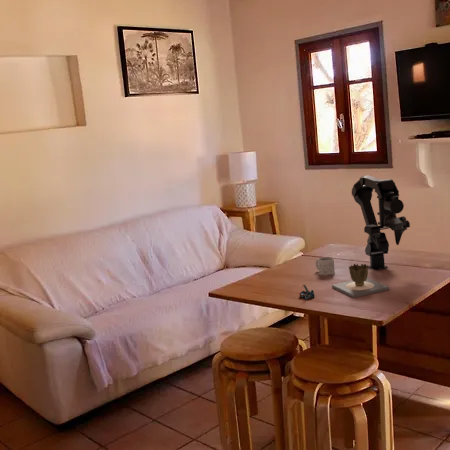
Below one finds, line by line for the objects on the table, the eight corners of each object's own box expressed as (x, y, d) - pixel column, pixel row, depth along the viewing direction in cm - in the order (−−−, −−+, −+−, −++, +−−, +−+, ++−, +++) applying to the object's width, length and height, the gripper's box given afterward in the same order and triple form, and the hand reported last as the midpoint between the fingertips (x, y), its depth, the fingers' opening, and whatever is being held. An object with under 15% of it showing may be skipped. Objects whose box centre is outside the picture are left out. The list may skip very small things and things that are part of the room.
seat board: (332, 287, 237) (331, 284, 237) (366, 280, 242) (366, 277, 242) (353, 297, 222) (353, 294, 222) (389, 289, 227) (389, 286, 227)
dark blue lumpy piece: (320, 293, 224) (304, 282, 227) (309, 308, 224) (293, 296, 226) (320, 296, 232) (305, 285, 234) (310, 311, 231) (294, 300, 233)
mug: (337, 273, 257) (336, 258, 256) (326, 276, 253) (325, 261, 252) (322, 269, 265) (321, 255, 264) (311, 272, 262) (310, 258, 260)
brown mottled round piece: (371, 282, 234) (369, 263, 232) (367, 288, 227) (366, 268, 226) (352, 282, 237) (351, 263, 235) (348, 288, 230) (346, 268, 229)
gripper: (377, 215, 231) (380, 254, 234) (417, 208, 237) (419, 246, 240) (362, 212, 242) (364, 249, 244) (400, 205, 247) (402, 241, 250)
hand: (388, 246), depth 244 cm, fingers open, 9 cm apart
